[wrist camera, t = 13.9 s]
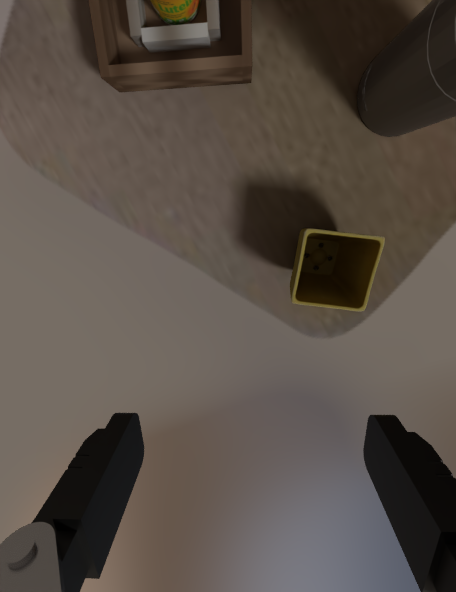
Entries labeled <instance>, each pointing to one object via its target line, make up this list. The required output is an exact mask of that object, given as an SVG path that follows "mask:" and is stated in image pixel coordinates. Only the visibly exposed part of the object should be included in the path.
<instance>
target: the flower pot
mask: <svg viewBox="0 0 456 592" xmlns="http://www.w3.org/2000/svg"><path fill="white" fill-rule="evenodd" d="M384 241H385V238H384V237H381V236H372V235H363V234H354V233H345V232H337V231H329V230H320V229H313V228H303V229H302V230H301V231H300V234H299V240H298V245H297V251H296V257H295V262H294V267H293V272H292V276H291V281H290V293H291V301H292V303H295V304H301V305H310V306H319V307H328V308H336V309H343V310H351V311H364V310H365V308H366V305H367V302H368V298H369V294H370V290H371V286H372V282H373V279H374V275H375V272H376V269H377V266H378V263H379V259H380V256H381V253H382V250H383V247H384ZM320 243H322V244H323V246H322V247H319V244H320ZM306 253H308V254H309V256H308V257H305V254H306ZM329 256H331V257H332V259H331V260H328V257H329ZM315 266H318V269H316V270H315V269H314V267H315Z"/></svg>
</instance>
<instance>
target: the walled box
mask: <svg viewBox="0 0 456 592" xmlns="http://www.w3.org/2000/svg"><path fill="white" fill-rule="evenodd" d="M88 1H89V7H90V13H91V19H92V26H93V32H94V38H95V44H96V50H97V57H98V63H99V69H100V75H101V78H102V79H104V80H105V81H106V82H107V83H109V84H110V85H111V86H112V87H114V88H115V89H116V90H118V91H119V92H131V91H145V90H159V89H173V88H187V87H201V86H215V85H229V84H243V83H251V77H252V16H251V0H201V4H200V8H199V11H198V13H197V15H196V16H195V18H194V19H193V20H192V21H191V22H190V23H188V24H183V25H169V24H167V23H165V22H164V21H163V20H162V19H161V18H160V17H159V15H158V14H157V12H156V11H155V9H154V7H153V5H152V3H151V0H88Z"/></svg>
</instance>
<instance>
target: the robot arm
mask: <svg viewBox="0 0 456 592" xmlns="http://www.w3.org/2000/svg"><path fill="white" fill-rule="evenodd" d="M357 105H358V109H359V114H360V116H361V118H362V121H363V122H364V123H365V125H366V126H367V127H368V128H369V129H370V130H371V131H373V132H374V133H376V134H379V135H381V136H387V137H392V136H399V135H403V134H406V133H409V132H412V131H414V130H417V129H420V128H423V127H426V126H429V125H432V124H435V123H438V122H440V121H443V120H446V119H449V118H452V117H455V116H456V0H432V1H431V2H430V3H429V4H428V5H427V6H426V7H425V8H424V9H423V10H422V11H421V12H420V13H419V14H418V15H417V16H416V17H415V18H414V19H413V20H412V21H411V22H410V23H409V24H408V25H407V26H406V27H405V28H404V29H403V30H402V31H401V32H400V33H399V34H398V35H397V36H396V37H395V38H394V39H393V40H392V41H391V42H390V43H389V44H388V45H387V46H386V47H385V48H384V49H383V50H382V51H381V52H380V53H379V54H378V56H377V57H376V58H375V59H374V60H373V61H372V62H371V63H370V65H369V66H368V67H367V69H366V71H365V73H364V74H363V76H362V79H361V82H360V84H359V89H358V95H357ZM143 457H144V444H143V437H142V432H141V426H140V421H139V416H138V414H137V413H115V414H114V415H113V416H112V417H111V419H110V421H109V423H108V424H107V426H106V428H105V429H97V430H96V431H95V432H94V433H93V434H92V435H90V436H89V437H88V438H87V439H86V440H85V441H84V442H83V444H82V446H81V447H80V449H79V450H78V452H77V453H76V457H75V458H73V460H72V461H71V463H70V464H69V466H68V469H67V470H66V471H65V472H64V474H63V475H62V477H61V478H60V480H59V482H58V483H57V485H56V486H55V488H54V489H53V491H52V493H51V494H50V496H49V497H48V499H47V500H46V502H45V504H44V505H43V507H42V508H41V510H40V511H39V513H38V514H37V516H36V518H35V519H34V520H33V522H32V523H31V524H28V525H26V526H23V527H21V528H20V529H18V530H16V531H15V532H14V533H12V534H11V535H10V536H9V537H7V538H6V539H5V540H4V541H3V542H2V543H1V544H0V592H80V589H81V587H82V585H83V582H84V580H85V578H97V579H99V578H100V575H101V572H102V570H103V567H104V565H105V562H106V559H107V556H108V554H109V551H110V548H111V546H112V543H113V540H114V538H115V535H116V532H117V530H118V527H119V524H120V522H121V519H122V516H123V514H124V511H125V508H126V506H127V503H128V500H129V497H130V495H131V492H132V490H133V487H134V484H135V482H136V479H137V476H138V473H139V471H140V468H141V465H142V462H143ZM364 461H365V465H366V468H367V470H368V473H369V475H370V477H371V480H372V482H373V484H374V486H375V489H376V491H377V493H378V496H379V498H380V500H381V502H382V505H383V507H384V509H385V511H386V514H387V516H388V518H389V521H390V523H391V525H392V527H393V530H394V532H395V534H396V536H397V539H398V541H399V543H400V546H401V548H402V550H403V552H404V554H405V557H406V559H407V561H408V564H409V566H410V568H411V570H412V573H413V575H414V577H415V580H416V582H417V584H418V586H419V588H420V591H421V592H456V479H455V478H453V474H452V473H451V472H450V470H449V469H448V468H447V466H446V465H445V464H443V461H442V459H441V458H440V457H439V455H438V454H437V453H436V451H435V450H434V448H433V447H432V446H431V445H430V444H429V443H428V442H426V441H425V440H424V439H423V438H422V437H420V436H419V435H418V434H417V433H415V432H407V431H406V430H405V428H404V427H403V425H402V424H401V422H400V421H399V419H398V418H397V417H396V416H395V415H370V416H369V418H368V423H367V430H366V436H365V443H364Z"/></svg>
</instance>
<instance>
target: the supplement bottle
mask: <svg viewBox="0 0 456 592" xmlns="http://www.w3.org/2000/svg"><path fill="white" fill-rule="evenodd" d="M151 3H152V5H153V7H154V9H155V11H156V12H157V14H158V15H159V17H160V18H161V19H162V20H163V21H164V22H165V23H167V24H169V25H183V24H188V23H190V22H191V21H192V20H193V19H194V18H195V16H196V15H197V13H198V11H199V8H200V4H201V0H151Z"/></svg>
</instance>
